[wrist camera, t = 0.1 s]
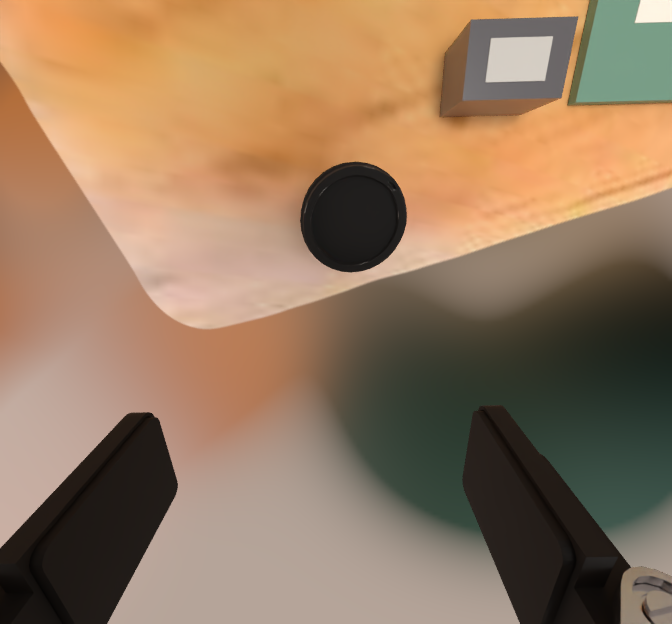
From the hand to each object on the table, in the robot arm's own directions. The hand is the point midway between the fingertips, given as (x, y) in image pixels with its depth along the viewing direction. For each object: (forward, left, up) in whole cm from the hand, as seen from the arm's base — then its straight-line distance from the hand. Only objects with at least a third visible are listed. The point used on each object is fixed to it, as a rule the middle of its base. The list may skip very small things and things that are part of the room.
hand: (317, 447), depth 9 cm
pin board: (-25, +34, -31) cm, 52 cm away
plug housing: (-17, +16, -31) cm, 39 cm away
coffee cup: (-5, +2, -31) cm, 32 cm away
